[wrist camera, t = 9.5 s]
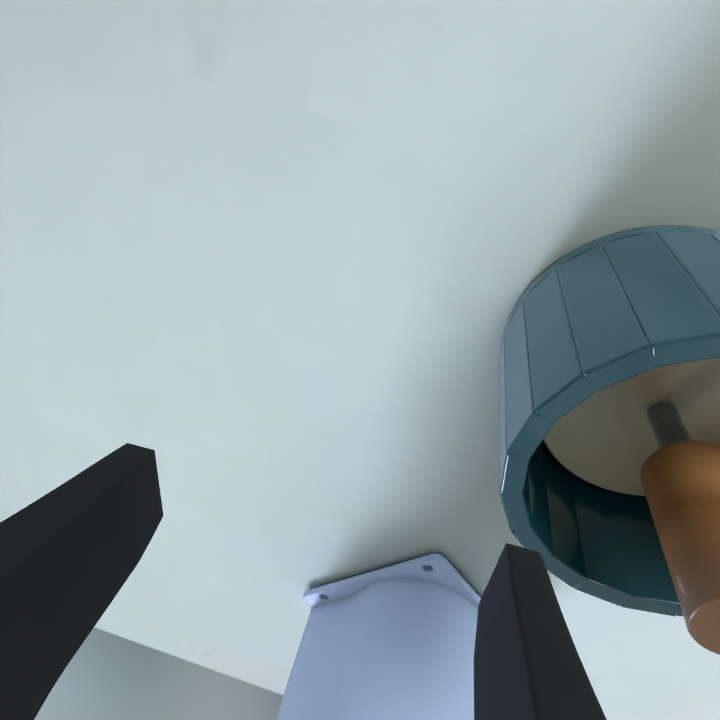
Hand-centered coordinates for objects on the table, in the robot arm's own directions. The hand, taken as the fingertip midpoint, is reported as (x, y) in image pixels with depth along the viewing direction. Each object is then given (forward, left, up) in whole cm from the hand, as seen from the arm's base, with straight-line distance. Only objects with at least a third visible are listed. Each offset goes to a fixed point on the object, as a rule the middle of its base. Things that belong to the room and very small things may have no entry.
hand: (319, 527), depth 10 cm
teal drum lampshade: (+6, -6, -10) cm, 13 cm away
